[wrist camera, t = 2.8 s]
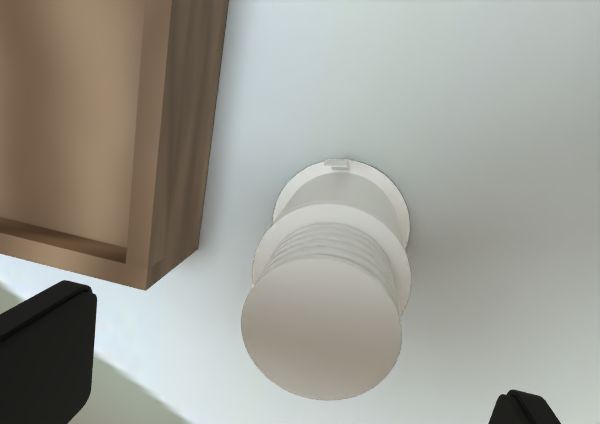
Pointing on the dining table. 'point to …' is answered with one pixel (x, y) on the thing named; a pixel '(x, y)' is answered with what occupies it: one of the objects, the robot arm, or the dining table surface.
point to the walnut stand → (107, 132)
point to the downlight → (330, 282)
